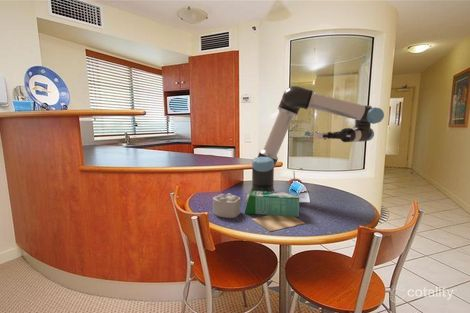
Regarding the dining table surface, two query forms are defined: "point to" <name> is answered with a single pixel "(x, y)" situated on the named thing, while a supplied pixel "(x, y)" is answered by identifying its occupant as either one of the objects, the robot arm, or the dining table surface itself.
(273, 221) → the wooden mat
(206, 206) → the dining table surface
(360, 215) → the dining table surface
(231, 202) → the lumpy-topped squat cylinder
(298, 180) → the cupcake
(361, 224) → the dining table surface
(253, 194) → the milk carton
